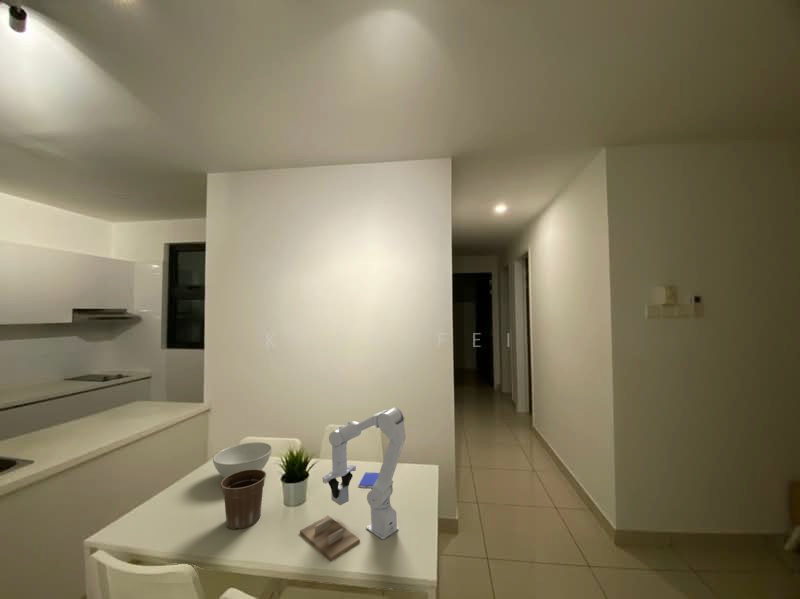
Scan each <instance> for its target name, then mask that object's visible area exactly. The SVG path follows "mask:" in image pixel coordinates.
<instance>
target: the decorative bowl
mask: <svg viewBox="0 0 800 599" xmlns="http://www.w3.org/2000/svg"><path fill="white" fill-rule="evenodd" d="M272 451H273V447H272V445H270V444H269V443H266V442H258V441H257V442H256V441H254V442H253V441H252V442H244V443H239V444H235V445H232V446H229V447H226V448H224V449H222V450H220V451H219V452H217V453H216V454H215V455H214V456H213V457H212V462H213V465H214V467H215V468H214V469H216V471H217V472H218V473H219V474H220V476H222V478H223V479H224V478H226V477H227V476H229V475H231V474H233V473H236V472H239V471H243V470H248V469H259V470H263V469H264V468H265V466H266V465H267V463H268V462H269V460H270V457H271V455H272Z"/></svg>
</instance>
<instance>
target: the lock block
mask: <svg viewBox="0 0 800 599" xmlns="http://www.w3.org/2000/svg"><path fill="white" fill-rule="evenodd" d="M337 481H338V482H339V485H338V497H337V498H334V497H333V494H332V490H331V489H330V490H331V494H330V495H331V501H333V502H334V503H335V504H337V505H339V506H343V505H344V504H346V503H348V502H349V500H350V499H349V497H350V495H349V486H348V485H346V484H345V483H343V482H342V480H337Z"/></svg>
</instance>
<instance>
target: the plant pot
mask: <svg viewBox="0 0 800 599" xmlns="http://www.w3.org/2000/svg"><path fill="white" fill-rule="evenodd" d="M266 477H267V472H266V471H265V470H263V469H262V470H259V469H248V470H243V471H239V472H236V473H233V474H231V475H229V476H227V477H226V478H224V477H223V479H222V480H221V481H220V487H221V488H222V495H223V499H224V508H225V509H224V510H225V523H226V527H227V528H229V529H232V530H236V529H245V528H249V527H250V526H252V525H254V524H256V523H257V522H258V521H259V519H260V517H261V514H262V503H263V502H262V501H263V492H264V491H263V490H264V487H265V480H266Z"/></svg>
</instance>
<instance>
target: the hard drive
mask: <svg viewBox="0 0 800 599" xmlns="http://www.w3.org/2000/svg"><path fill="white" fill-rule="evenodd" d="M379 473H380V472H367V471H366V472H365V473H363V476H362V478H361V480H360V482H359V484H358V485H357V488H363V489H364V488H365V489H372V487H373V485H374V484H375V482H376V480H377V479H378V476H379Z"/></svg>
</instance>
